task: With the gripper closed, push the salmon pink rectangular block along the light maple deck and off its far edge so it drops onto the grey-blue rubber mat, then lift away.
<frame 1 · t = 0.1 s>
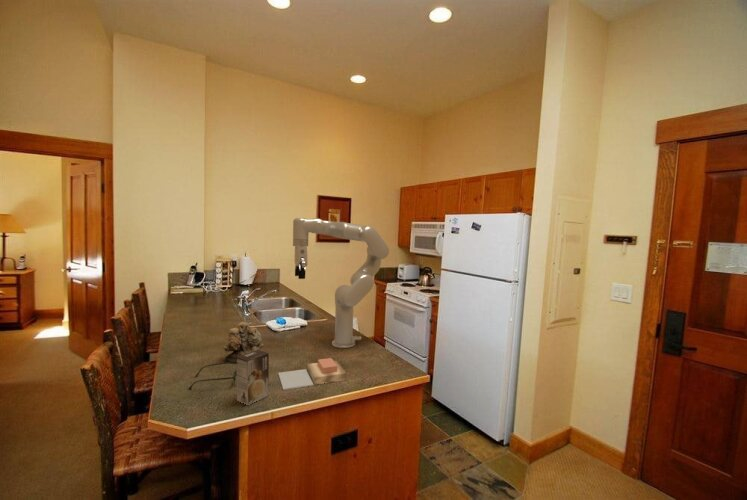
hand: (299, 277, 168), 37 cm above the countertop, tool pointing down, fingers open, 9 cm apart
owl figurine: (243, 358, 157), on the countertop
salmon pink rectangular block: (327, 365, 141), point 4 cm above the countertop, touching deck
coffee box: (252, 399, 121), on the countertop
deck: (325, 375, 141), on the countertop
sunglasses: (215, 382, 133), on the countertop
mat: (295, 379, 136), on the countertop
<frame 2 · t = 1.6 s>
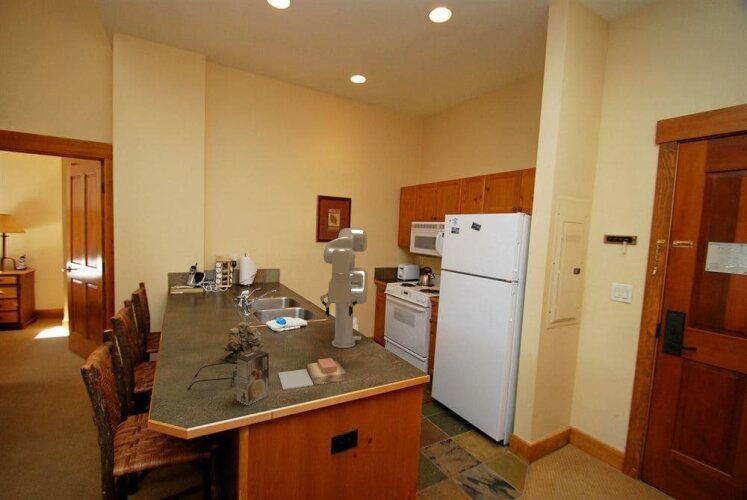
hand: (339, 316, 147), 24 cm above the countertop, tool pointing down, fingers open, 9 cm apart
nothing on the countertop moved.
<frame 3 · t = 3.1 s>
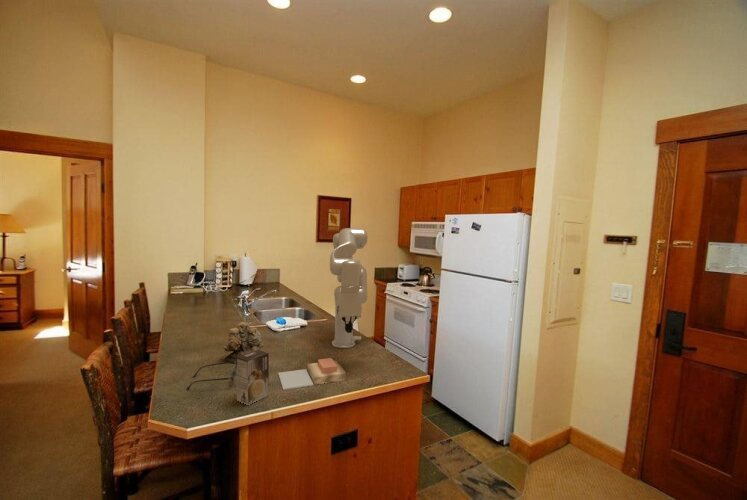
hand: (348, 332, 144), 18 cm above the countertop, tool pointing down, fingers closed
nothing on the countertop moved.
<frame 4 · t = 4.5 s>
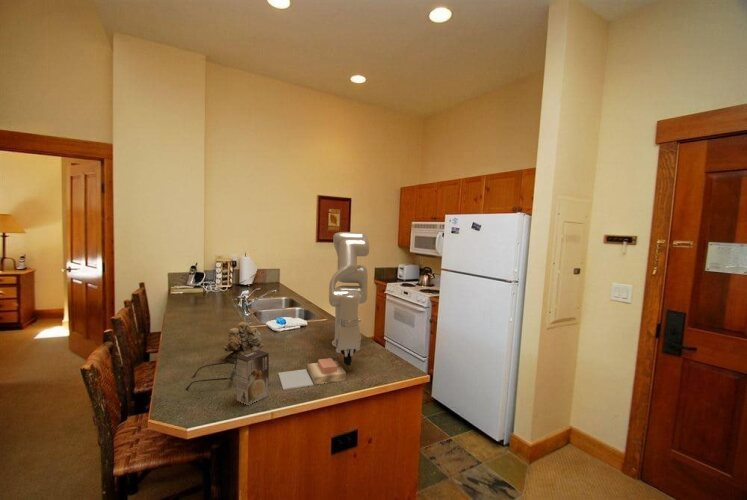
hand: (347, 364, 145), 4 cm above the countertop, tool pointing down, fingers closed
nothing on the countertop moved.
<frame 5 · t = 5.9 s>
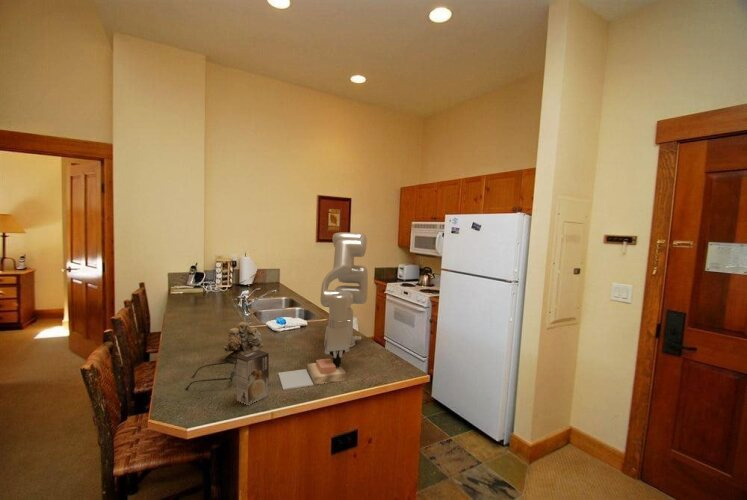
hand: (336, 365, 143), 4 cm above the countertop, tool pointing down, fingers closed
salmon pink rectangular block: (325, 365, 141), point 4 cm above the countertop, touching deck, gripper
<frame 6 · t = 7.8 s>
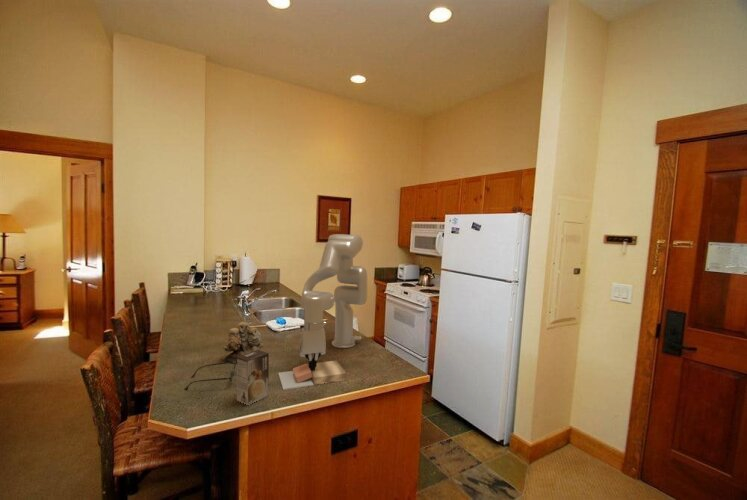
hand: (312, 369, 139), 4 cm above the countertop, tool pointing down, fingers closed
salmon pink rectangular block: (302, 372, 137), point 3 cm above the countertop, tilted 15°, touching gripper
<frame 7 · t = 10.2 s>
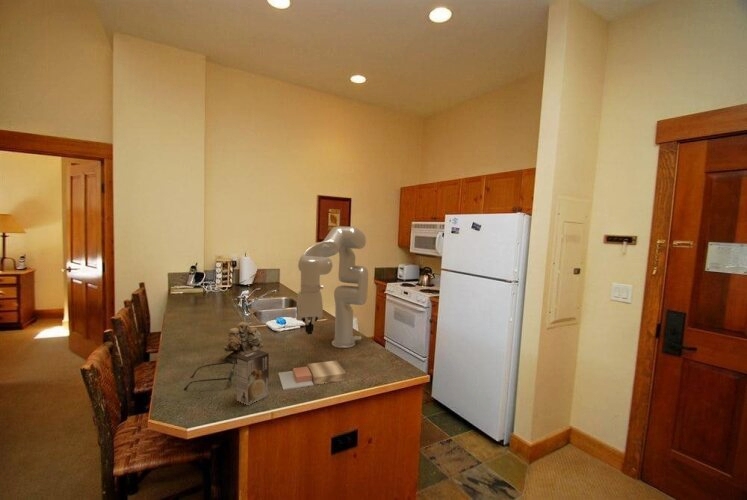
hand: (309, 333, 137), 19 cm above the countertop, tool pointing down, fingers closed
salmon pink rectangular block: (302, 374, 137), point 2 cm above the countertop, touching mat
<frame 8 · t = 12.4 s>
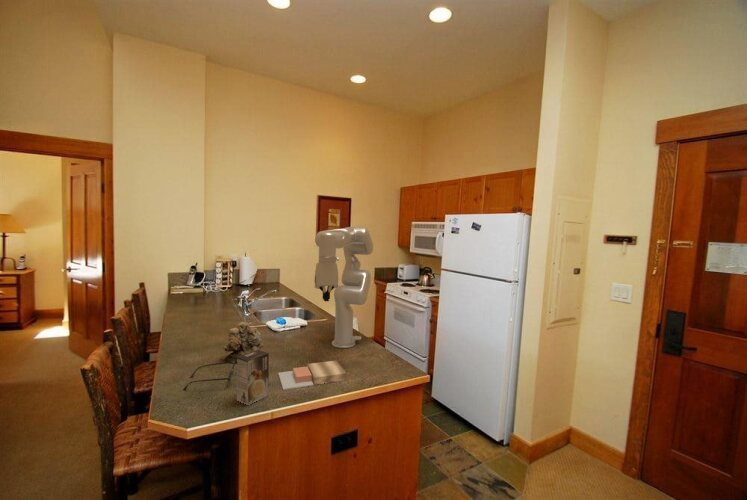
hand: (326, 300, 151), 29 cm above the countertop, tool pointing down, fingers closed
at the end: salmon pink rectangular block inside the target area (3.0 cm from its centre), point 1.8 cm above the countertop; salmon pink rectangular block touching mat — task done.
